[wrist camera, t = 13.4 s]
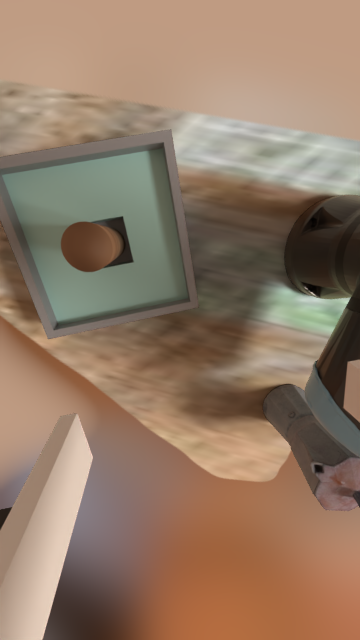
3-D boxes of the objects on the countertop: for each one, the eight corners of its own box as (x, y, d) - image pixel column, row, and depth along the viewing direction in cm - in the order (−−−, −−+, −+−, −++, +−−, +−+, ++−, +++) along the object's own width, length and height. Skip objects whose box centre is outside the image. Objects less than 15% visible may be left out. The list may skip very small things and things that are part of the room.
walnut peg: (121, 225, 33) (103, 217, 19) (128, 255, 34) (117, 267, 21) (91, 230, 32) (53, 226, 19) (99, 261, 34) (70, 276, 21)
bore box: (166, 148, 31) (171, 129, 26) (191, 296, 38) (199, 307, 32) (8, 174, 30) (-24, 160, 24) (63, 323, 37) (48, 339, 31)
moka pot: (269, 368, 45) (358, 465, 26) (328, 397, 49) (442, 498, 30) (241, 408, 47) (304, 524, 28) (299, 432, 51) (389, 547, 32)
